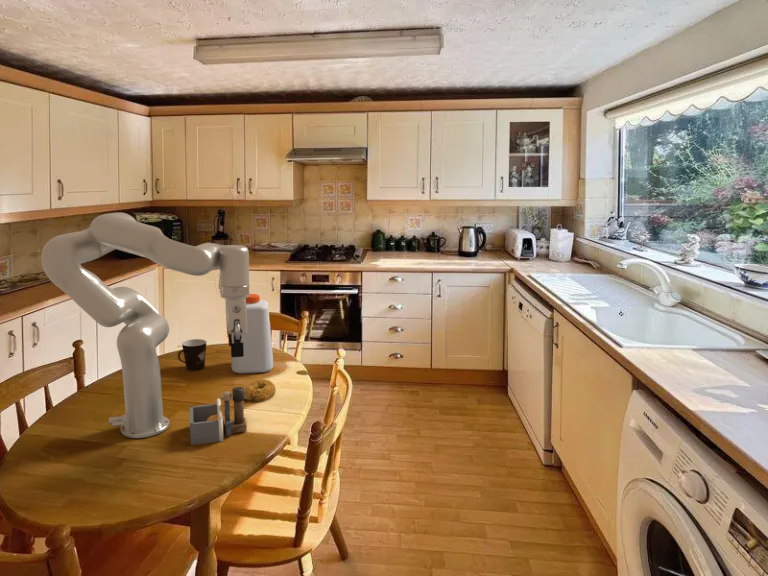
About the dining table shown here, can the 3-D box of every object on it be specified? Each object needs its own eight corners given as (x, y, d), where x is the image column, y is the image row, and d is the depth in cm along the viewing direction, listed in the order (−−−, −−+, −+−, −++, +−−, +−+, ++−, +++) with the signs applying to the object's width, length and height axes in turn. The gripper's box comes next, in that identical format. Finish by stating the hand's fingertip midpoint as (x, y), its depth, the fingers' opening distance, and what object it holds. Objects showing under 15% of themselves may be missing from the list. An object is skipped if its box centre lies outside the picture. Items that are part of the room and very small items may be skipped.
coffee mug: (202, 362, 202) (201, 337, 200) (211, 368, 195) (210, 343, 193) (171, 368, 194) (170, 343, 192) (179, 375, 188) (178, 349, 186)
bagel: (237, 394, 173) (237, 381, 172) (268, 388, 180) (268, 375, 179) (248, 405, 165) (248, 391, 164) (280, 398, 172) (280, 385, 171)
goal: (190, 445, 140) (189, 419, 138) (191, 425, 151) (189, 401, 149) (223, 441, 142) (222, 415, 141) (221, 422, 153) (220, 398, 152)
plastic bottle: (273, 373, 193) (272, 299, 187) (230, 375, 190) (228, 300, 184) (273, 359, 207) (271, 290, 202) (233, 361, 204) (231, 291, 198)
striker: (223, 436, 144) (221, 396, 142) (221, 423, 152) (220, 385, 149) (247, 433, 146) (246, 394, 144) (244, 420, 154) (243, 383, 151)
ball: (228, 429, 146) (211, 439, 145) (227, 421, 150) (211, 431, 149) (218, 416, 144) (202, 426, 143) (217, 408, 149) (202, 418, 148)
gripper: (252, 297, 134) (253, 360, 138) (246, 284, 150) (247, 340, 154) (222, 298, 132) (223, 362, 135) (219, 285, 148) (220, 342, 151)
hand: (236, 351), depth 145 cm, fingers open, 9 cm apart
